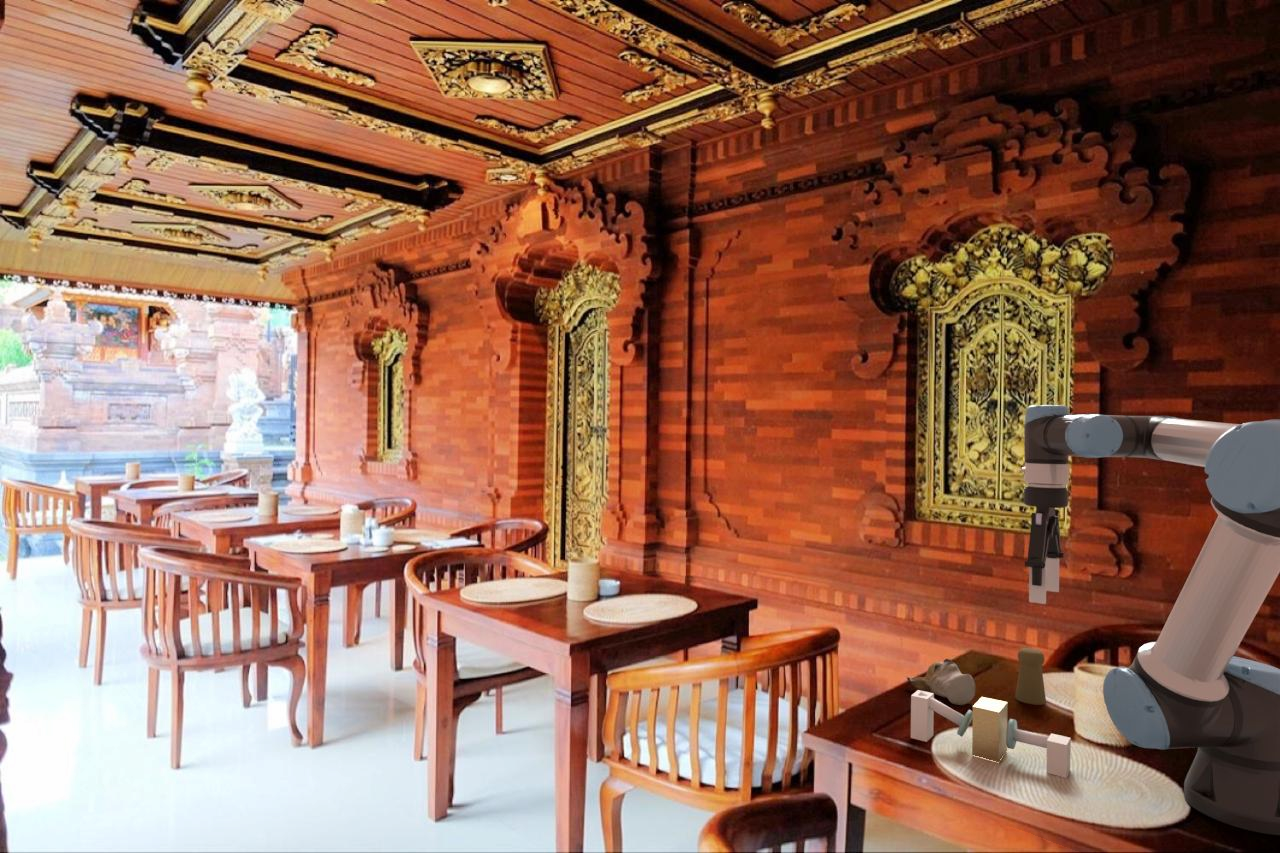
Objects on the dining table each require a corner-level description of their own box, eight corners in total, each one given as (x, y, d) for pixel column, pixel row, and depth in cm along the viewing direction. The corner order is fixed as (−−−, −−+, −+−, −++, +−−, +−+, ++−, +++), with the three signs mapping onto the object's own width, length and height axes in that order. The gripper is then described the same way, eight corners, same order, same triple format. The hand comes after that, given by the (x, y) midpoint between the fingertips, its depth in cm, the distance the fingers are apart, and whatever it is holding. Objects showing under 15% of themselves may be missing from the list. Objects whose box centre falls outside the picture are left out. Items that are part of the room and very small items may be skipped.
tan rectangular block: (972, 756, 136) (972, 706, 136) (981, 745, 141) (981, 696, 141) (998, 763, 133) (999, 712, 133) (1006, 751, 138) (1007, 702, 139)
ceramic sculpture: (947, 668, 159) (903, 652, 173) (948, 710, 158) (904, 691, 172) (990, 665, 162) (943, 649, 176) (991, 707, 161) (944, 687, 175)
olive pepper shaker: (1008, 697, 167) (1009, 646, 167) (1027, 693, 170) (1028, 644, 170) (1033, 706, 162) (1034, 654, 162) (1052, 702, 164) (1053, 651, 164)
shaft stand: (1070, 768, 132) (1071, 719, 132) (1065, 778, 128) (1066, 728, 128) (918, 730, 148) (918, 686, 148) (909, 738, 144) (910, 693, 144)
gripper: (1037, 481, 158) (1035, 584, 158) (1009, 487, 138) (1008, 604, 138) (1078, 483, 153) (1077, 589, 153) (1056, 490, 134) (1054, 611, 133)
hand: (1044, 596), depth 146 cm, fingers open, 13 cm apart
